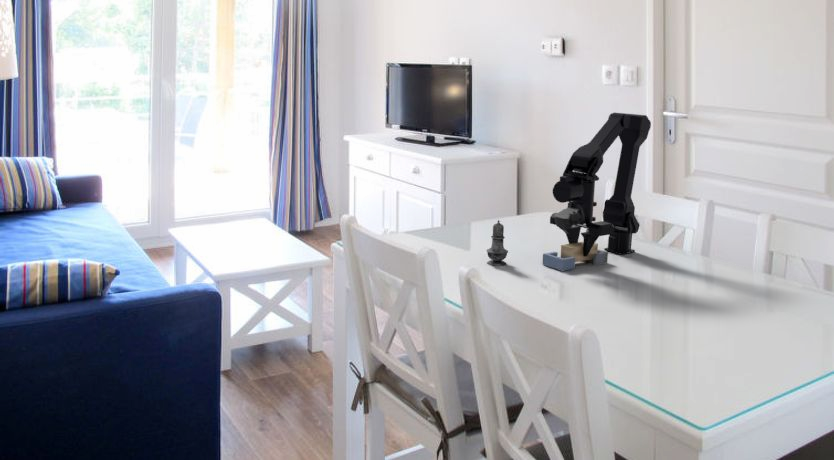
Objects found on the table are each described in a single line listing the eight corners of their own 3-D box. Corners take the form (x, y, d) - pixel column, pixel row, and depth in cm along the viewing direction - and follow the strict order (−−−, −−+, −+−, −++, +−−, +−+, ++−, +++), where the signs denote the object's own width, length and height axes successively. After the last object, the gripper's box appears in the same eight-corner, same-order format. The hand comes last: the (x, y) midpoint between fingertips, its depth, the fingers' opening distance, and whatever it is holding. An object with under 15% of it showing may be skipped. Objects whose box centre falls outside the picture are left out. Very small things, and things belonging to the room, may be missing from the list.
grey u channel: (586, 257, 248) (587, 246, 248) (607, 262, 243) (607, 252, 242) (575, 259, 246) (576, 248, 245) (595, 265, 240) (596, 254, 239)
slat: (586, 254, 245) (587, 240, 245) (596, 257, 242) (597, 243, 241) (560, 259, 240) (561, 245, 239) (571, 262, 237) (572, 248, 236)
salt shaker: (506, 267, 236) (508, 223, 233) (484, 265, 237) (486, 221, 234) (508, 261, 241) (510, 218, 239) (487, 260, 242) (489, 217, 240)
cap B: (554, 262, 241) (555, 251, 240) (574, 268, 235) (575, 257, 234) (542, 264, 238) (543, 253, 238) (562, 270, 233) (563, 259, 232)
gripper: (536, 195, 240) (533, 251, 243) (587, 207, 225) (583, 266, 229) (566, 191, 246) (562, 246, 250) (617, 202, 232) (613, 260, 235)
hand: (579, 254), depth 241 cm, fingers open, 4 cm apart
